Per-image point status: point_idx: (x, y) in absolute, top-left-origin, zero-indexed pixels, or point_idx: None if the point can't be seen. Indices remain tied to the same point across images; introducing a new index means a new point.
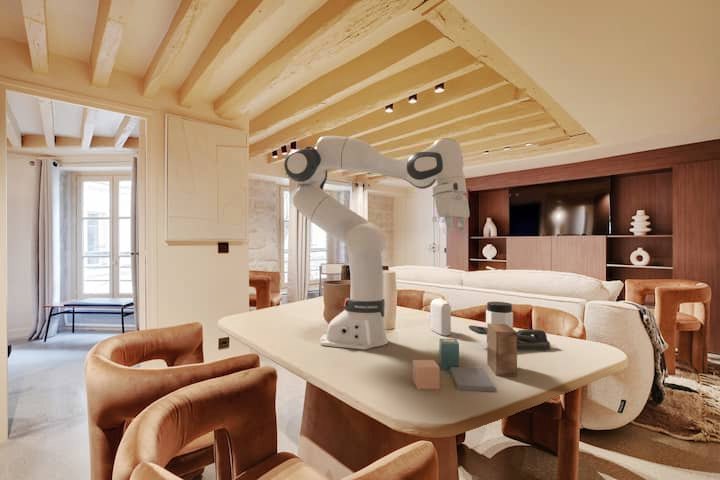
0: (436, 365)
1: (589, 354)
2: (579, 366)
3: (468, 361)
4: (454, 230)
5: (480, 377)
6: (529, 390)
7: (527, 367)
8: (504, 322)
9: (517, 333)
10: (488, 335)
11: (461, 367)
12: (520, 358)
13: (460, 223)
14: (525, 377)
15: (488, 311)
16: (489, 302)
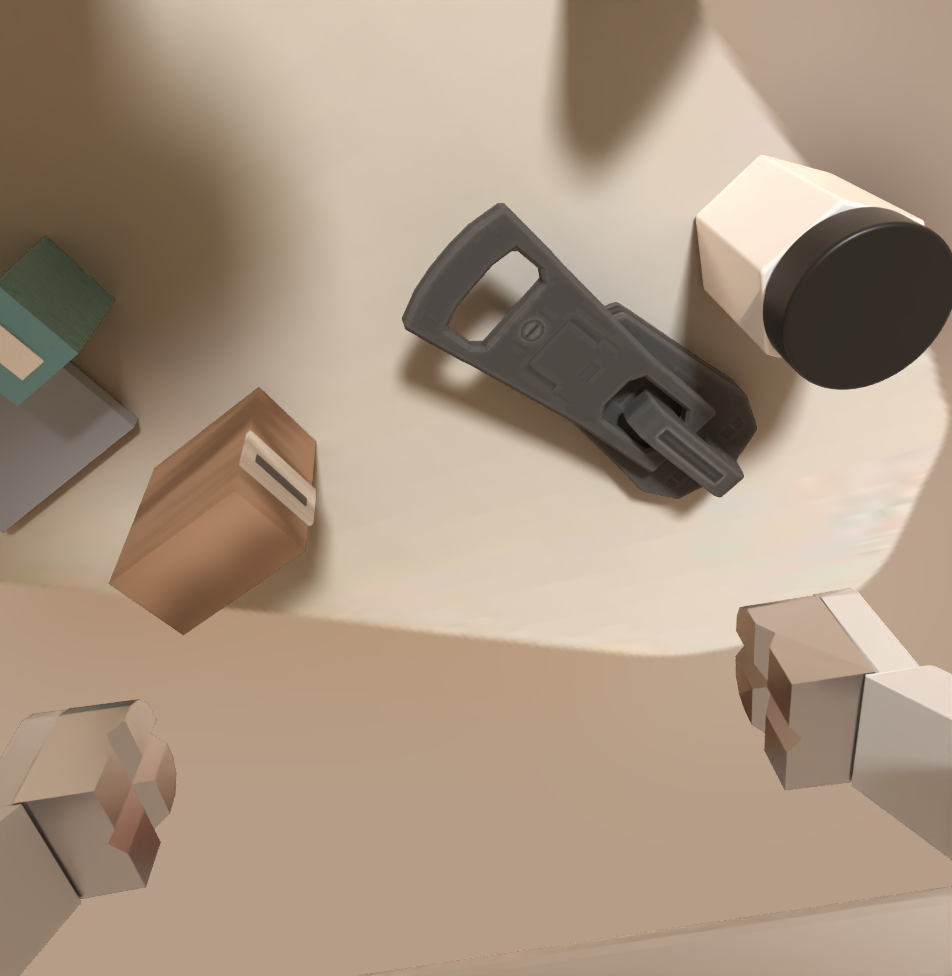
0: None
1: (686, 588)
2: (503, 603)
3: (212, 316)
4: (171, 787)
5: (33, 468)
6: None
7: (348, 504)
8: (741, 327)
9: (642, 407)
10: (226, 469)
11: None
12: (443, 449)
13: (949, 775)
14: None
15: (797, 235)
16: (877, 241)
